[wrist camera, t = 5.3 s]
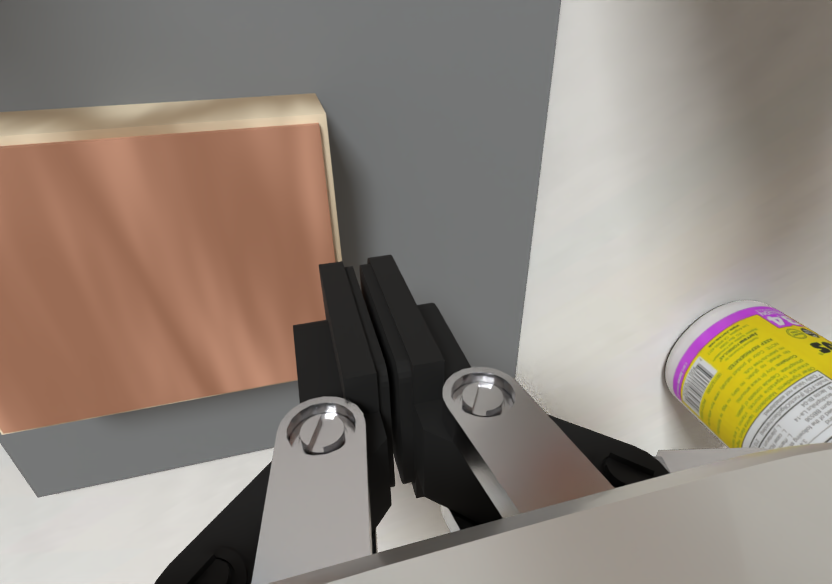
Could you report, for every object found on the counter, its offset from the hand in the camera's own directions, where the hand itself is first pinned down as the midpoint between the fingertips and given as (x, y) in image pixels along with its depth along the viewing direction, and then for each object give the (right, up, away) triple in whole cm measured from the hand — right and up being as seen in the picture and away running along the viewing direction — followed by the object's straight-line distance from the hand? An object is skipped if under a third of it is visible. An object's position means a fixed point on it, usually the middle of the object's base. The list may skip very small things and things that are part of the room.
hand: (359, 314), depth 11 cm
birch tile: (-1, +2, +4) cm, 4 cm away
